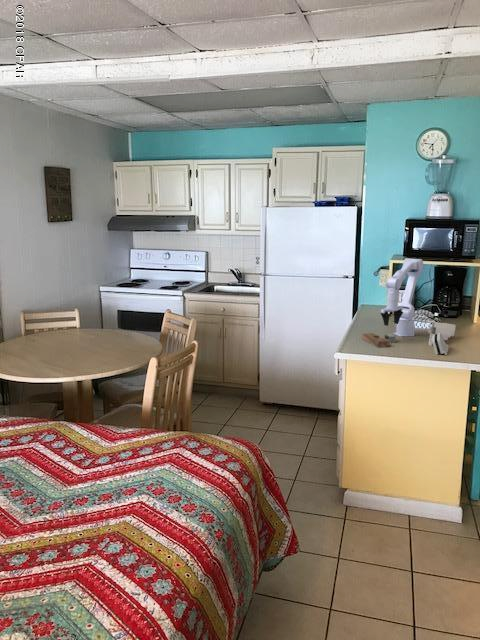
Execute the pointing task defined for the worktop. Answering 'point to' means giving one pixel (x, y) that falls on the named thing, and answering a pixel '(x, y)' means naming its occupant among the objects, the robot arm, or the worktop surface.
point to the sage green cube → (390, 337)
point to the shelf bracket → (441, 330)
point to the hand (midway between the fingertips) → (391, 324)
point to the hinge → (439, 344)
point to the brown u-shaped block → (376, 340)
